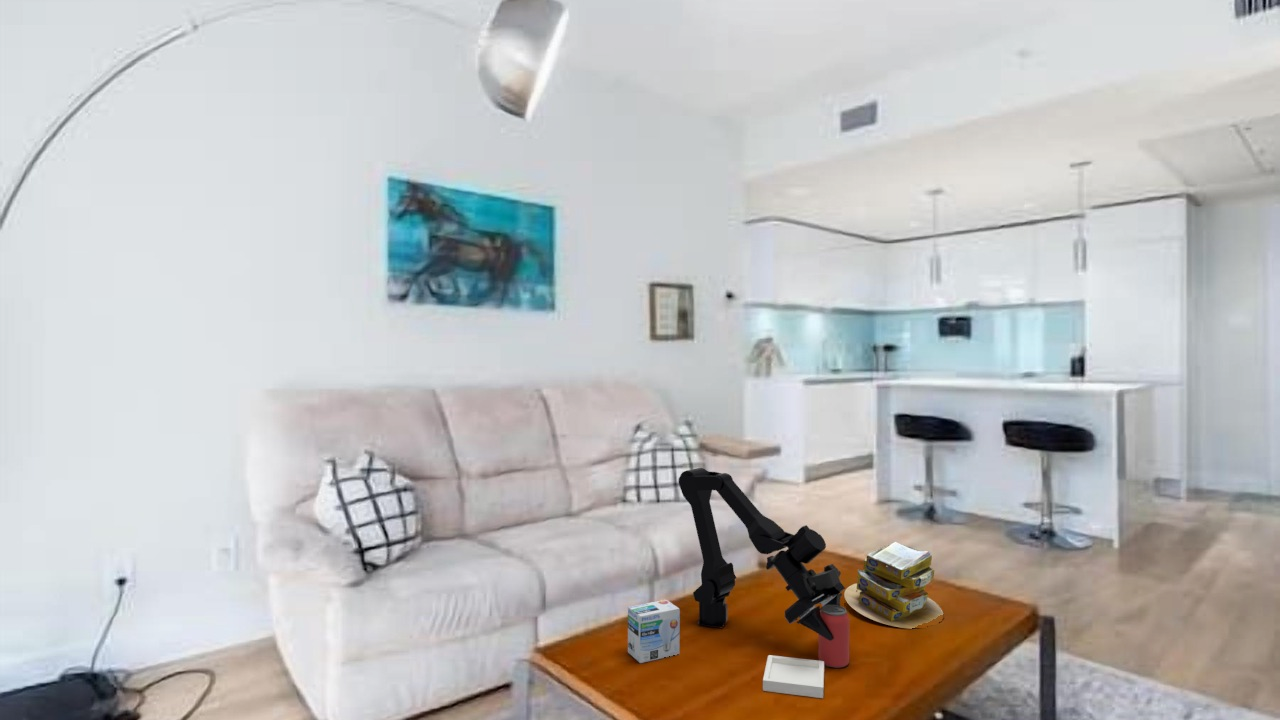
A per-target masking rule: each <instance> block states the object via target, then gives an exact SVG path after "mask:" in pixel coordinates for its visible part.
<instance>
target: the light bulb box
mask: <svg viewBox="0 0 1280 720" xmlns="http://www.w3.org/2000/svg"><path fill="white" fill-rule="evenodd" d="M680 615H681V610H680V608H679V607H678V606H677V605H675V604H673V603H672V602H670V601H669V600H668V599H661V600H658V601H657V600H656V601H653V602H651V601H650V602H647V603H642V604H636V605H633V606H632V605H630V606H628V607H627V653H628V654H629V655H630V656H631V657H633V658H634V660H636V661H637V662H638V663H639V664H644V663H647V662H651V661H658V660H660V659H661V660H662V659H665V658H664V657H666V658H670V657H674V656H673V655H675V656H678V655H677V654H679V655H680V639H681V638H680V634H681V633H680V626H681V622H680V621H681V620H680V618H681V616H680ZM669 656H670V657H669Z"/></svg>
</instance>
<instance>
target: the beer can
mask: <svg viewBox="0 0 1280 720" xmlns="http://www.w3.org/2000/svg"><path fill="white" fill-rule="evenodd" d="M820 609H821V610H820V615H821V617H822V619H823V620H824V622H825V624H826V625H827V627H828V628H829V630H830V632H831V633H832V635H833V637H834V639H833V640H831V641H829V640H828V639H826V638H824V637H823V636H821V635H820V634H818V661H824V666H825V667H829V668H834V669H839V668H840V669H841V668H844V667H846V666H848V665H849V663H850V618H849V615H848V613H847V612H848V611H847V609H846V608H845V607H844V606H841V605H840V606H838V605H825V606H821V607H820Z"/></svg>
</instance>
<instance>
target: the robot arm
mask: <svg viewBox="0 0 1280 720" xmlns="http://www.w3.org/2000/svg"><path fill="white" fill-rule="evenodd" d="M733 479H734V478H733V477H732V475H731V474H729V473H726V472H722V473H721V472H717V471H709V470H707V469H706V468H703V467H698V468H697V467H696V468H693V469H688V470H685V471H682V472H681V474H680V476H679V477H678V485H679V488H680V491H681V493H682V496H683V498H684V499H685V500H686V502H687V503H688V504H689V505H690V507H691V512H692V516H693V521H694V525H695V528H696V533H697V539H698V542H699V546H700V551H701V555H702V560H703V561H702V562H703V563H702V566H701V567H702V568H701V572H700V579H701V585H699V587H697V588H696V589H695V590H694V591H693V592H692V593H693V598H694V600H695V602H698V621H697V626H698V625H701V626H700V627H707V626H712V627H711V628H717V627H723V626H724V627H725V624H726V623H727V621H728V603H726V597H729V596H730V594H731V591H733V589H734V588H735V586H736V579H737V576H736V575H735V571H734V565H733V563H732V562H727V560H726V559H724V557H723V554H722V550H721V546H720V541H719V537H718V533H717V528H716V524H715V520H714V519H715V518H714V515H713V511H712V506H711V501H710V500H711V496H712V492H713V491H716V492H717V493H718V495H719V496H720V497H721V498H722V500H723V501H724V502H725V503H726V505H727V506H728V507H729V508H730V509H731V510H732V511H733V513H734V514H735V515H736V516H737V518H738V519H739V520H740V521H741V522H742V523H743V525H744V526H745V528H746V529H747V533H748V538H749V539H750V542H751V543H752V545H753V546H754V548H755V549H756V551H757V552H758V553H760V554H762V555H769V556H768V557H767V558H766V560H767V561H766V566H765V567H766V570H768V571H769V570H771V569H773V568H775V569H776V570H777V572H778V573H779V574H780V576H781V577H782V579H783V581H785V583H786V584H787V585H786V586H785V587H784V588H785V589H786V590H787V592H789V591H792V593H793V594H794V596H795V597H796V598H797V600H796V601H795V602H794V603H792V604H791V605H790V606H789V607H788V608H787V609H785V610H784V618H785V619H786V621H787V622H788V624H789V625H791V624H793V623H795V622H796V621H797V622H796V623H797V625H799V624H800V625H802V626H803V627H806V628H808V629H810V630H812V631H813V632H814V633H816V634H818V635H819V634H820V635H821V636H823V637H824V638H826V639H828V640H829V641H831V640H833V639H834V637H833V635H832V633H831V632H830V630H829V628H828V627H827V625H826V624H825V622H824V620H823V619H822V617H821V615H820V612H821V607H823V606H825V605H838V606H841V597H842V596H843V593H842V592H843V591H845V590H846V587H845V586H844V584H843V583H842V581H841V579H840V576H841V574H842V573H841V570H839V569H838V568H837V567H836V566H835V564H833V563H831V564H828V565H826V566H824V567H823V571H821V572H819V573H816V571H815V570H814V569H812V568H811V569H809V570H808V569H807V567H806V566H805V564H807V565H808V564H809V563H811V562H812V561H813V560H814V559H815V558H817V556H819V555H820V554H821V553H822V552H823V551H824V550H826V547H827V545H826V541H825V539H824V538H823V536H822V535H821V534H819V533H818V532H817V531H815V530H814V529H811V528H809V526H808V525H807V524H806V525H803V526H801V527H800V528H799V529H798V530H797V532H796V533H795V534H792V533H789V532H787V531H785V530H784V529H783V528H782V527H781V526H780V525H778V524H777V522H776V521H774V520H773V519H771V518H768V517H766V516H765V515H763V514H762V513H761V512H760V510H759V509H758V508H757V507H756V506H755V504H753V502H752V501H751V500H750V499H749V497H748V496H747V494H745V493H744V492H743V490H742V489H741V488H740V487H739V486H738V485H737V483H736V482H735V481H734V480H733ZM786 548H788V549H786ZM783 549H786V550H783ZM774 552H777V553H776V554H775V555H770V554H772V553H774ZM819 604H820V605H821V607H820V605H819ZM816 605H817V606H816ZM798 618H799V620H798ZM724 627H723V628H724Z"/></svg>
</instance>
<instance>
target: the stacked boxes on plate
mask: <svg viewBox="0 0 1280 720" xmlns="http://www.w3.org/2000/svg"><path fill="white" fill-rule="evenodd" d="M932 558H933V556H932V554H931V552H930V551H929V550H923V551H922V550H918V549H916V548H913V547H911V546H908V545H905V544H902V543H899V542H898V541H894V542H893V543H891V544H890V543H888V545H884V546H882V547H880V548H878V549H877V550H874V551H872V552H869V553H868V552H866V558H865V559H863V569H862V570H861V569H859V568H858V569H857V572H858V575H857V577H856V578H857V579H856V580H857V581H856V583H853V584H851V585H850V586H848V587H847V588H845V589H844V599H845V601H846V602H847V604H848V605H849V607H851V608H852V609H853V610H855V611H856V612H857V613H858V614H860V615H862V616H864V617H866V618H868V619H870V620H873V621H874V622H877V623H880V624H884V625H888V626H891V627H897V628H901V629H910V630H911V629H912V628H915V627H917V626H918V625H922V624H923V623H928V622H930V621H932V620H933V619H936V618H937V617H938V616H940V615H943V614H944V612H943V610H942V608H941V606H940V605H939V604H938V603H937V602H935V601H934V600H933V599H931V598H930V597H929V593H928V592H927V591H925V590H926V587H927V585H929V583H931V581H933V580H934V577H935V569H934V568H932V567H931V566H932ZM912 630H913V629H912Z"/></svg>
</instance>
